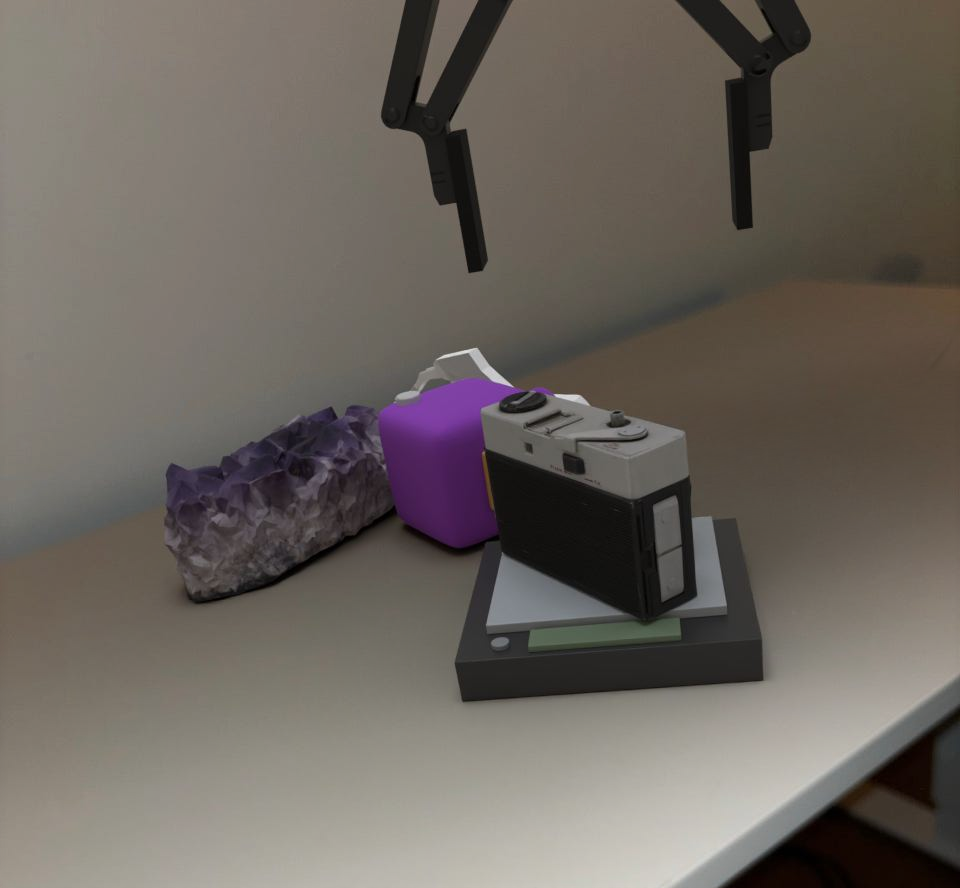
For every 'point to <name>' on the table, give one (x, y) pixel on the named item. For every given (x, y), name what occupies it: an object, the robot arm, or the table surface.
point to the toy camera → (443, 459)
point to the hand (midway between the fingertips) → (607, 246)
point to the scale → (608, 629)
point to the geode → (276, 501)
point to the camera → (593, 499)
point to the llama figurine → (469, 372)
